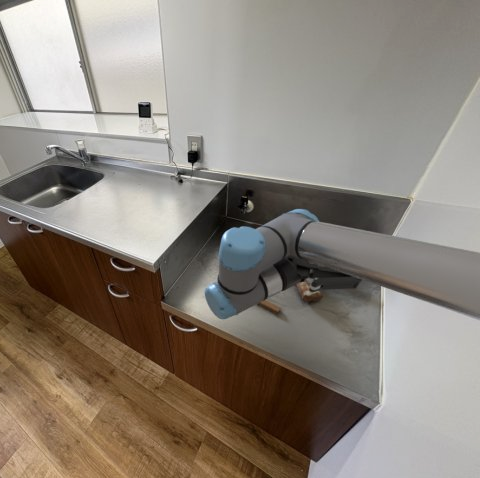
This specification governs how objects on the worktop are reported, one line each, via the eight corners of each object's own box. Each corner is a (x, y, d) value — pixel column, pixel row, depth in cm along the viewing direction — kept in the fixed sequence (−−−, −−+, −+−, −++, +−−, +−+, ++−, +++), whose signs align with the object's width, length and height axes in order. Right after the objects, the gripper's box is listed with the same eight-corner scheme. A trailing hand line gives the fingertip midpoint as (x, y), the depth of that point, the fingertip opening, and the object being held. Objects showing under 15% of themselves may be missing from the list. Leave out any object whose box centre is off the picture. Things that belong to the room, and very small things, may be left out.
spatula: (281, 306, 85) (282, 304, 84) (275, 317, 82) (276, 315, 81) (233, 282, 95) (233, 280, 94) (226, 291, 92) (226, 289, 91)
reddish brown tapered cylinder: (302, 305, 84) (306, 295, 81) (283, 264, 99) (286, 254, 95) (321, 304, 84) (327, 294, 80) (299, 264, 98) (303, 253, 95)
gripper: (234, 255, 66) (295, 229, 72) (314, 331, 48) (388, 289, 54) (237, 233, 62) (302, 207, 67) (327, 309, 44) (406, 265, 49)
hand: (340, 243), depth 60 cm, fingers open, 13 cm apart
